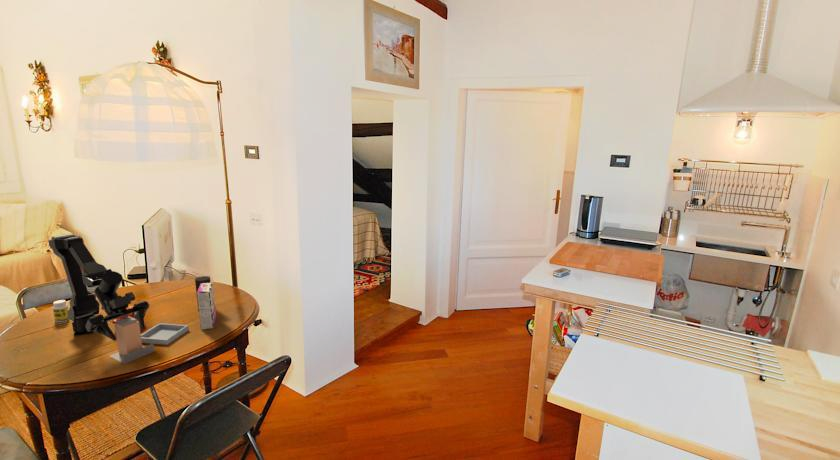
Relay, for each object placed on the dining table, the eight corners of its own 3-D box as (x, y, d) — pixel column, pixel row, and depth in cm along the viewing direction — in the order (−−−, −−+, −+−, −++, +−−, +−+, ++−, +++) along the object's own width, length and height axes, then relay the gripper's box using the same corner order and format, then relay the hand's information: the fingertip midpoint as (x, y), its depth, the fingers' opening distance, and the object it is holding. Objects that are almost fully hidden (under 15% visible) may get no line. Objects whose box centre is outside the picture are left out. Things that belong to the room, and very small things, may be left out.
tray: (136, 343, 155) (135, 337, 154) (160, 328, 167) (159, 323, 166) (167, 345, 154) (166, 340, 153) (188, 330, 166) (188, 325, 165)
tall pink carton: (119, 353, 147) (113, 320, 144) (134, 347, 151) (129, 315, 148) (128, 358, 144) (123, 324, 141) (143, 352, 148) (138, 319, 145)
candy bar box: (203, 319, 176) (200, 283, 173) (216, 317, 178) (213, 281, 175) (200, 330, 166) (196, 292, 163) (213, 328, 168) (210, 291, 164)
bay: (109, 356, 145) (107, 349, 145) (139, 344, 154) (138, 337, 153) (124, 364, 141) (123, 357, 140) (154, 352, 149) (153, 344, 148)
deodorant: (215, 309, 186) (212, 278, 182) (201, 313, 182) (197, 281, 178) (209, 306, 190) (207, 275, 186) (196, 309, 185) (192, 278, 182)
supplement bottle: (53, 323, 169) (49, 304, 167) (56, 319, 173) (53, 300, 171) (68, 321, 171) (64, 302, 169) (71, 317, 175) (68, 298, 173)
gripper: (83, 295, 136) (105, 334, 133) (143, 279, 152) (164, 314, 149) (76, 312, 142) (97, 350, 139) (134, 295, 157) (154, 328, 155)
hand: (130, 334), depth 145 cm, fingers open, 9 cm apart
